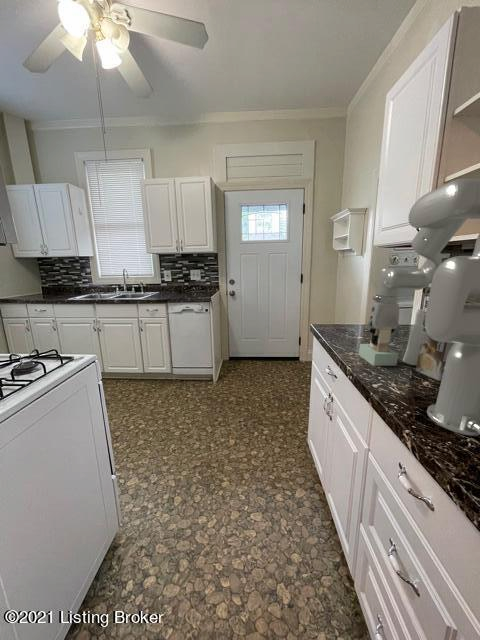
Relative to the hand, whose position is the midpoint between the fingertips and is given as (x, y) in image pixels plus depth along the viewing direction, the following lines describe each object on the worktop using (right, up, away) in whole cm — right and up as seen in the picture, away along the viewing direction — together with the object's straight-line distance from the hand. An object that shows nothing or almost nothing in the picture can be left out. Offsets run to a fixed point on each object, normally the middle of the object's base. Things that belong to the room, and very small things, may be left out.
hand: (379, 343), depth 108 cm
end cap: (0, -7, +2) cm, 7 cm away
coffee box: (+14, -11, -10) cm, 20 cm away
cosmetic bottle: (+13, -8, 0) cm, 15 cm away
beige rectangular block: (0, -4, +1) cm, 4 cm away
